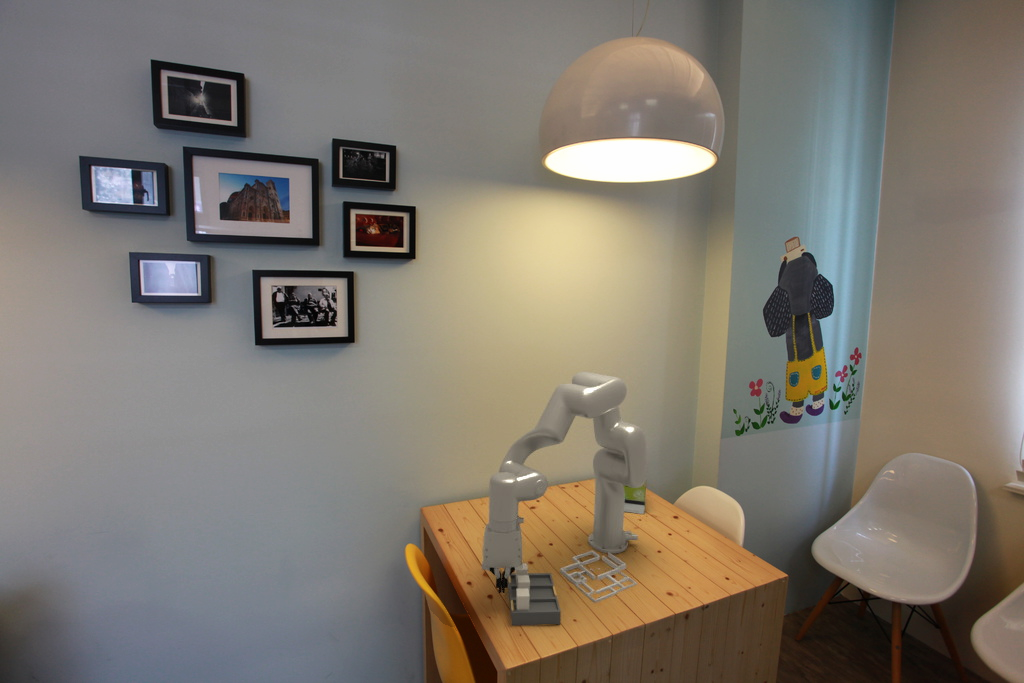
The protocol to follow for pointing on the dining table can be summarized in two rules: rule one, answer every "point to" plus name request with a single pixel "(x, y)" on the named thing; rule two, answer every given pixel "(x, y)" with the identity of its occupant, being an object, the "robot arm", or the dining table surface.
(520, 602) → the tab
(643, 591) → the dining table surface
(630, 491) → the tea box
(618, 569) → the floor plan model
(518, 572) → the white rectangular block
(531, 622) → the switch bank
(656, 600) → the dining table surface
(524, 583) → the white block
